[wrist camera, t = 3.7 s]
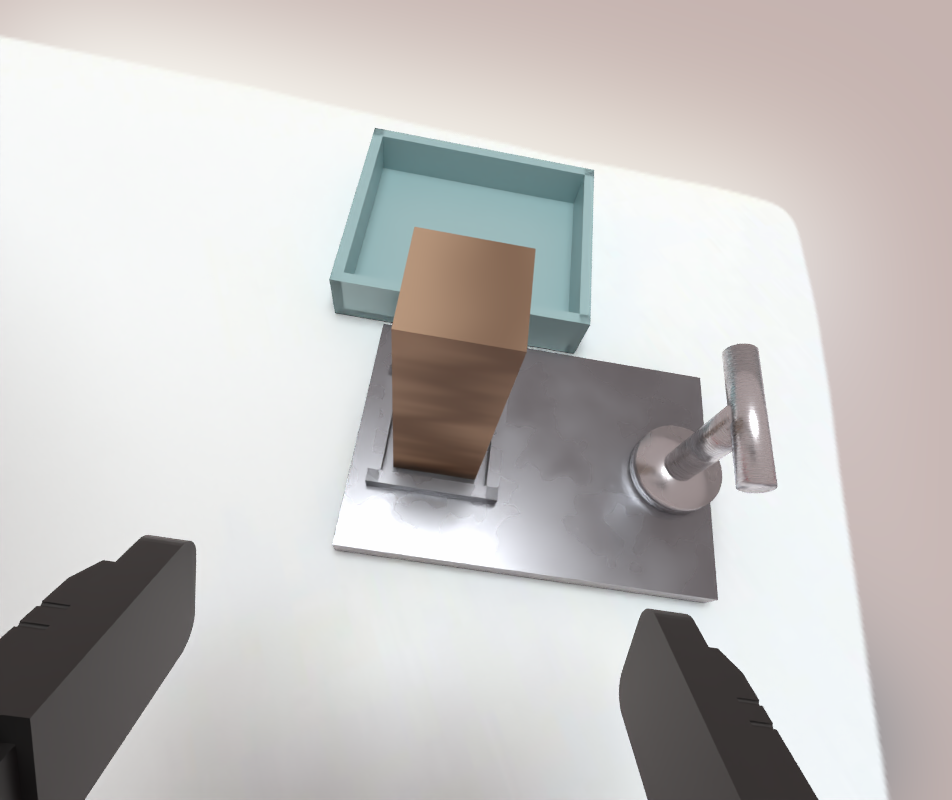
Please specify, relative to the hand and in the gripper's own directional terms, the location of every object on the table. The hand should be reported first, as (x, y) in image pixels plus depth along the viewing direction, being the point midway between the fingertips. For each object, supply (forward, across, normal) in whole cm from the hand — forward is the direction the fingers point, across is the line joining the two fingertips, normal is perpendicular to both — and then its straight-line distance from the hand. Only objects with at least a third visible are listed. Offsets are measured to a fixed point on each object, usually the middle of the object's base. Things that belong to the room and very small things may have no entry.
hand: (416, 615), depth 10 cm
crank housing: (+18, -5, +4) cm, 20 cm away
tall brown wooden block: (+18, 0, +4) cm, 18 cm away
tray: (+28, 0, -5) cm, 28 cm away
